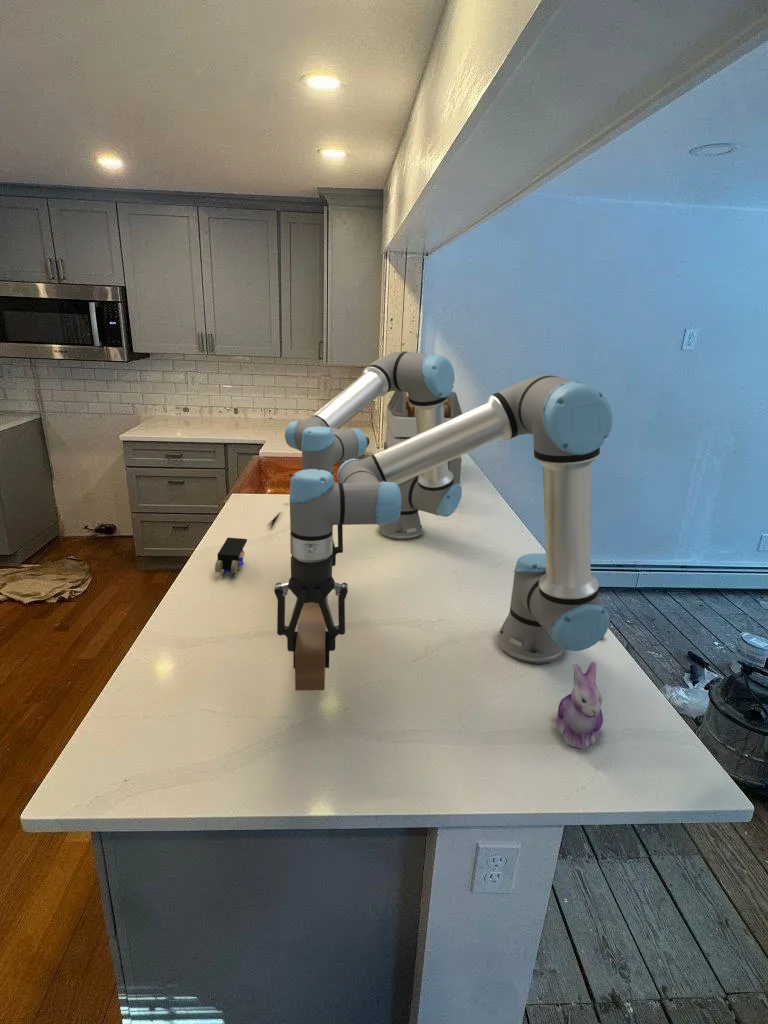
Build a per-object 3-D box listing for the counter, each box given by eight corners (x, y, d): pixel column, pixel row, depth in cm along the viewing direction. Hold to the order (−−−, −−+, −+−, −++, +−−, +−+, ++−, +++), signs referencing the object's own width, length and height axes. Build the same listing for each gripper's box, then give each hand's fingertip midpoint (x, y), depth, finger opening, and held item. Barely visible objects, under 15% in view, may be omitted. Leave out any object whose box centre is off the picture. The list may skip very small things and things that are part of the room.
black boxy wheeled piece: (238, 584, 162) (249, 557, 175) (236, 562, 158) (247, 536, 172) (215, 584, 161) (227, 556, 175) (212, 561, 158) (225, 535, 171)
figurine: (580, 758, 102) (595, 689, 97) (541, 722, 110) (552, 657, 105) (617, 742, 106) (633, 675, 101) (577, 709, 114) (589, 645, 109)
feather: (287, 506, 225) (290, 502, 224) (270, 530, 198) (272, 526, 198) (283, 504, 225) (286, 500, 224) (265, 527, 198) (268, 523, 197)
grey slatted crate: (382, 463, 289) (386, 382, 275) (445, 464, 293) (451, 384, 279) (390, 482, 257) (394, 392, 243) (460, 483, 261) (468, 394, 247)
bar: (308, 565, 153) (308, 539, 150) (328, 565, 154) (328, 539, 151) (295, 690, 103) (294, 654, 101) (324, 690, 104) (324, 653, 101)
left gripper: (278, 495, 134) (280, 583, 142) (356, 496, 136) (353, 583, 144) (281, 485, 141) (282, 570, 149) (355, 487, 143) (352, 570, 151)
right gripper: (257, 563, 98) (261, 676, 106) (363, 564, 100) (359, 675, 108) (262, 546, 105) (265, 653, 113) (361, 547, 107) (357, 652, 115)
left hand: (317, 576), depth 146 cm, fingers closed on bar, 5 cm apart
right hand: (311, 663), depth 110 cm, fingers closed on bar, 5 cm apart
